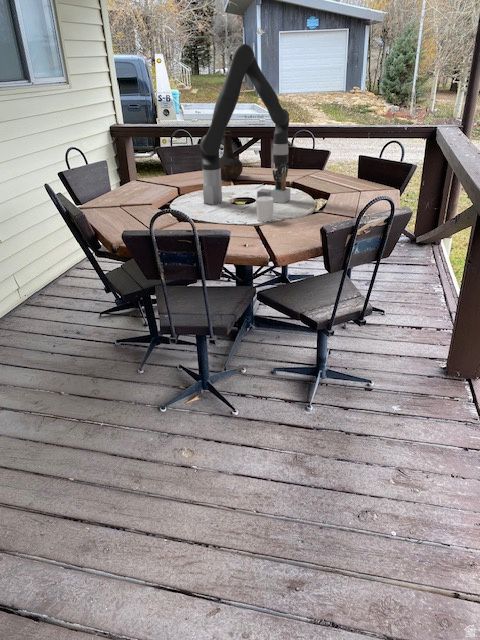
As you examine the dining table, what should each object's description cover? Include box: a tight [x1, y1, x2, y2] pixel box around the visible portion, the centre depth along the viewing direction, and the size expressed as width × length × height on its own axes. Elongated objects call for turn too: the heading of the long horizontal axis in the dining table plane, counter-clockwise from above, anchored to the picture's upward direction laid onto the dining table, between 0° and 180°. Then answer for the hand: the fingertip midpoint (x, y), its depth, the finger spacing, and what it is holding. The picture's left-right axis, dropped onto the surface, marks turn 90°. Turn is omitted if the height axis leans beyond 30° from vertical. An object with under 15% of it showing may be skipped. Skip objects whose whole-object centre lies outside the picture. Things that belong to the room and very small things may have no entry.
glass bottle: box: [219, 129, 244, 181], centre depth 297 cm, size 18×18×28 cm
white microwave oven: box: [270, 187, 291, 204], centre depth 251 cm, size 8×8×6 cm
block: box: [274, 172, 287, 191], centre depth 248 cm, size 4×4×9 cm
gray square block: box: [256, 188, 272, 198], centre depth 256 cm, size 6×6×4 cm
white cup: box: [255, 196, 274, 222], centre depth 222 cm, size 8×8×10 cm
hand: (280, 187), depth 250 cm, fingers closed on block, 3 cm apart
